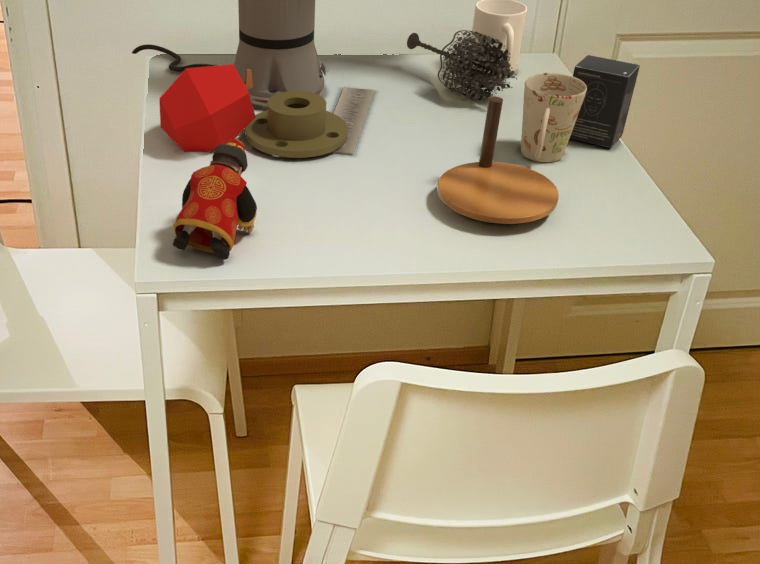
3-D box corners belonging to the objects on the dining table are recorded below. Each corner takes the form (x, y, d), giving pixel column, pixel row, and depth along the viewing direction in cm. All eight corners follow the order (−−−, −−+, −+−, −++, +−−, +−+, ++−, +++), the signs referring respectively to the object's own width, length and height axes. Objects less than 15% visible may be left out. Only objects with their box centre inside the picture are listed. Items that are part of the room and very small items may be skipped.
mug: (573, 145, 138) (588, 76, 131) (566, 183, 129) (583, 112, 122) (516, 137, 139) (528, 69, 132) (505, 174, 130) (518, 104, 124)
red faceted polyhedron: (187, 182, 137) (278, 136, 138) (165, 131, 126) (265, 81, 126) (155, 124, 141) (244, 79, 142) (132, 68, 130) (228, 20, 130)
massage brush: (384, 38, 152) (401, 82, 159) (484, 80, 139) (498, 125, 146) (423, -3, 152) (439, 42, 160) (526, 35, 139) (538, 82, 147)
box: (622, 136, 140) (641, 64, 133) (610, 149, 136) (629, 76, 129) (571, 124, 143) (587, 53, 136) (558, 137, 139) (574, 64, 132)
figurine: (243, 281, 117) (279, 181, 121) (233, 241, 108) (273, 134, 112) (171, 264, 118) (209, 165, 122) (156, 223, 109) (197, 118, 113)
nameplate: (352, 152, 134) (318, 149, 135) (352, 154, 134) (318, 151, 135) (374, 89, 151) (343, 87, 152) (374, 91, 151) (343, 89, 152)
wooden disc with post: (457, 158, 130) (467, 88, 124) (569, 181, 126) (585, 109, 119) (421, 207, 120) (429, 133, 113) (541, 234, 115) (558, 159, 109)
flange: (363, 91, 137) (270, 75, 142) (326, 133, 127) (227, 114, 132) (361, 122, 141) (270, 105, 145) (325, 165, 131) (228, 145, 135)
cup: (508, 59, 162) (519, -3, 155) (528, 87, 153) (540, 22, 146) (461, 61, 161) (470, -2, 154) (479, 88, 153) (489, 23, 146)
